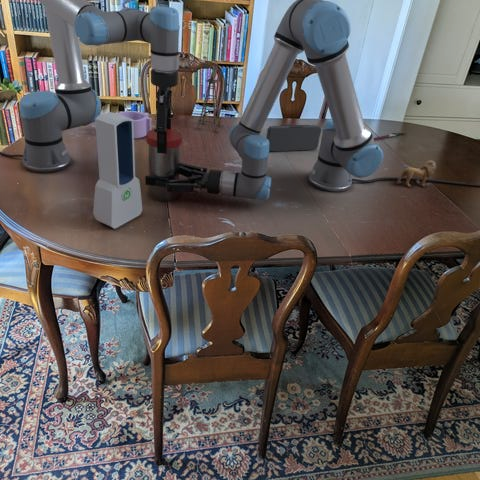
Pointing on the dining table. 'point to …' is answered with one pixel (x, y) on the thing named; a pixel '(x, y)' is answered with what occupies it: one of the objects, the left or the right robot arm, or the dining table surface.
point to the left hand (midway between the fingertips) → (164, 145)
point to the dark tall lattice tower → (211, 81)
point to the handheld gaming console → (293, 137)
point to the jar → (163, 171)
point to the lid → (172, 138)
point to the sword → (388, 135)
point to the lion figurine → (418, 173)
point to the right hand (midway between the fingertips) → (150, 173)
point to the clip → (138, 122)
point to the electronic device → (116, 171)
